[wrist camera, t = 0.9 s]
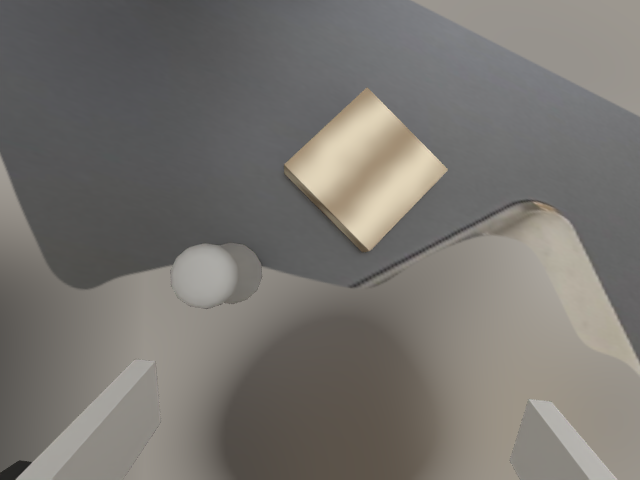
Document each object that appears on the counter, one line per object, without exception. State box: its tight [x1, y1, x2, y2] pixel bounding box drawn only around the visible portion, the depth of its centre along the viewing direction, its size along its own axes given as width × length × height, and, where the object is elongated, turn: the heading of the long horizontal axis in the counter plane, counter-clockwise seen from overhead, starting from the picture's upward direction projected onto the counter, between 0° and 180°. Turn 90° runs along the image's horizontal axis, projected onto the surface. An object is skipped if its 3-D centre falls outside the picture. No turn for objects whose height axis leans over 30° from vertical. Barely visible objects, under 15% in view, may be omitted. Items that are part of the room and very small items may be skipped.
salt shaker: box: [170, 243, 262, 309], centre depth 26 cm, size 6×6×13 cm
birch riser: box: [284, 88, 448, 252], centre depth 33 cm, size 12×12×3 cm
